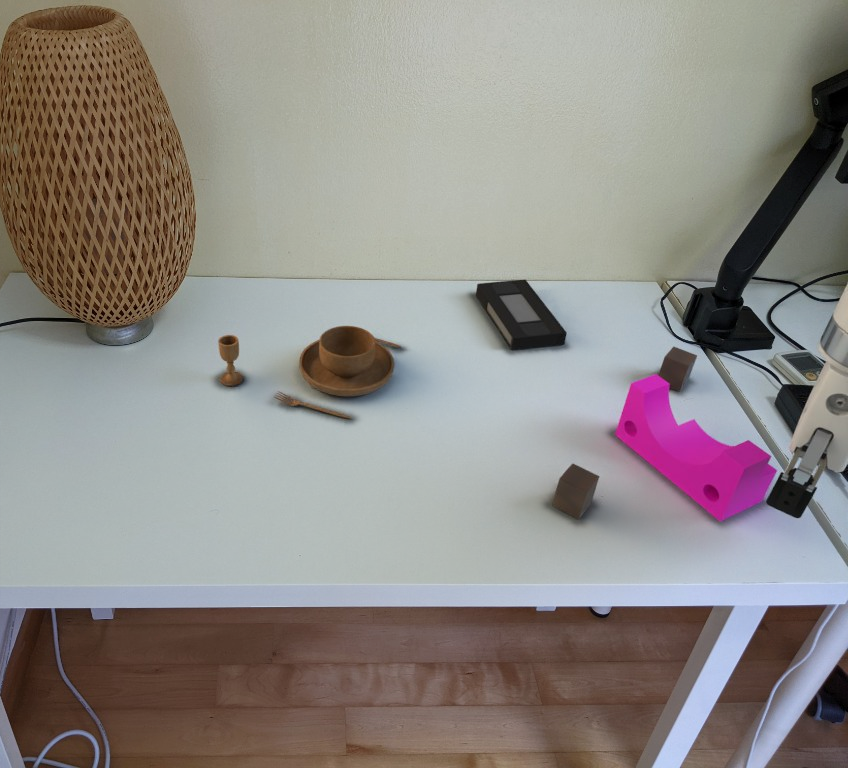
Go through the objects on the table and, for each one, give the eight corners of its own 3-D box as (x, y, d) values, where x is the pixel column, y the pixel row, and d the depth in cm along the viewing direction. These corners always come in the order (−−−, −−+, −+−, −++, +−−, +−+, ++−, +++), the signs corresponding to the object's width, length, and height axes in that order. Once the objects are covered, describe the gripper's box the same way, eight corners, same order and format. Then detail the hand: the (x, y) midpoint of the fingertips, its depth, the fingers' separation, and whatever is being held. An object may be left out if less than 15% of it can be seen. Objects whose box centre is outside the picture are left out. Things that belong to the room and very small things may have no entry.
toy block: (761, 501, 81) (788, 448, 77) (720, 521, 79) (745, 468, 74) (654, 419, 92) (672, 368, 87) (614, 434, 89) (631, 383, 85)
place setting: (366, 426, 90) (368, 386, 86) (213, 385, 95) (209, 346, 92) (411, 347, 103) (415, 309, 99) (275, 315, 108) (273, 278, 105)
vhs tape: (511, 350, 102) (513, 338, 101) (475, 295, 114) (476, 283, 112) (564, 345, 104) (566, 332, 102) (523, 291, 115) (525, 279, 114)
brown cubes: (688, 381, 98) (697, 355, 95) (578, 520, 79) (586, 492, 76) (664, 371, 99) (673, 346, 97) (551, 505, 80) (559, 478, 78)
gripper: (900, 410, 61) (813, 553, 71) (937, 319, 71) (857, 455, 82) (798, 371, 64) (730, 513, 75) (848, 291, 75) (782, 425, 86)
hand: (796, 483), depth 78 cm, fingers open, 9 cm apart
